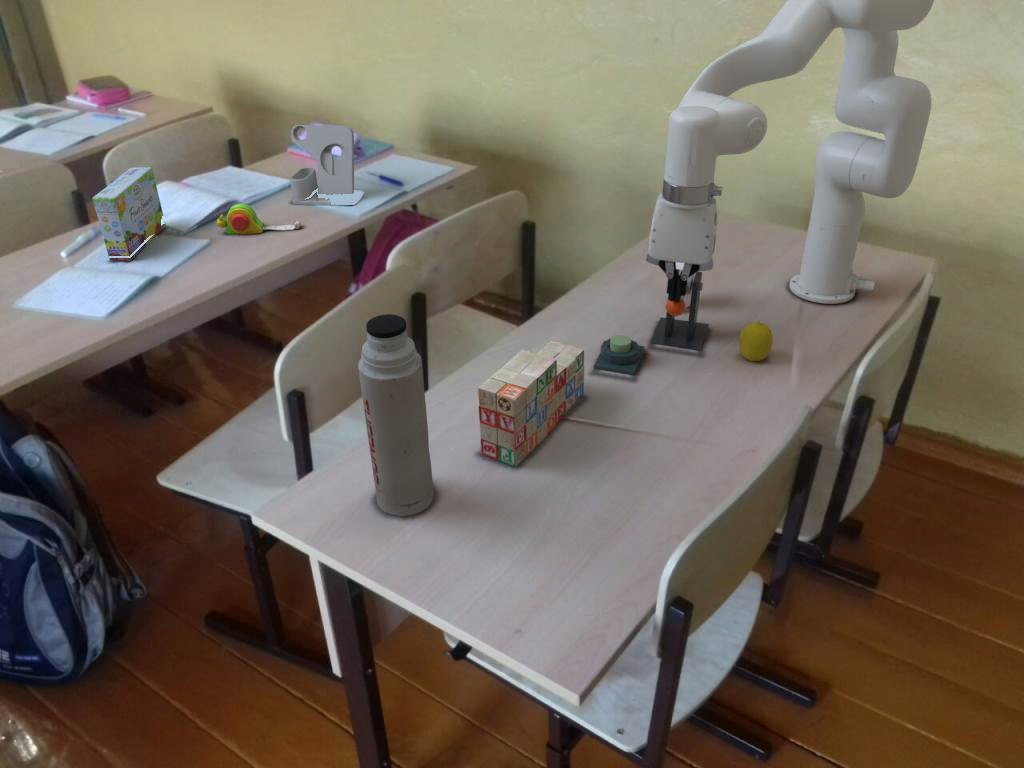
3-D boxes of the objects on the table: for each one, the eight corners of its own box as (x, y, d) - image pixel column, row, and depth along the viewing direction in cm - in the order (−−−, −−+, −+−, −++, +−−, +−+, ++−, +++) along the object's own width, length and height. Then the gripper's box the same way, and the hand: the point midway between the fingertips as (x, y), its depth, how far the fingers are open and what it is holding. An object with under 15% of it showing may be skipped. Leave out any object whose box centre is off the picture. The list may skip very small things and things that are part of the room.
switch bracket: (699, 355, 146) (707, 291, 140) (649, 348, 149) (655, 284, 142) (707, 329, 154) (715, 267, 147) (660, 322, 157) (665, 260, 150)
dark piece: (606, 348, 149) (606, 331, 147) (644, 354, 147) (645, 337, 145) (593, 373, 142) (594, 356, 140) (633, 380, 140) (634, 362, 138)
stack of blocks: (551, 387, 139) (551, 323, 132) (584, 397, 136) (586, 332, 129) (480, 454, 124) (477, 386, 117) (515, 468, 121) (514, 398, 114)
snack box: (133, 262, 185) (115, 197, 177) (109, 262, 185) (89, 197, 177) (168, 225, 203) (152, 165, 194) (145, 225, 203) (129, 165, 195)
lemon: (769, 356, 146) (777, 316, 141) (767, 372, 141) (774, 331, 137) (738, 351, 147) (744, 312, 143) (734, 367, 143) (740, 327, 139)
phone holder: (289, 203, 214) (277, 134, 204) (304, 190, 222) (293, 122, 212) (353, 206, 211) (344, 136, 201) (366, 192, 220) (357, 124, 210)
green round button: (612, 342, 145) (613, 333, 144) (632, 345, 144) (633, 336, 143) (607, 352, 142) (608, 343, 141) (628, 355, 141) (628, 346, 140)
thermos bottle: (375, 518, 112) (349, 340, 97) (378, 480, 119) (355, 308, 104) (433, 514, 113) (417, 336, 98) (433, 477, 119) (418, 305, 104)
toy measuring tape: (221, 227, 201) (215, 201, 197) (302, 222, 203) (297, 197, 199) (216, 237, 196) (210, 211, 192) (299, 233, 197) (294, 206, 194)
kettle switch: (682, 320, 137) (684, 302, 135) (663, 317, 137) (665, 300, 136) (694, 291, 147) (696, 274, 146) (676, 288, 148) (678, 272, 147)
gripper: (739, 188, 128) (724, 294, 137) (644, 178, 132) (636, 282, 142) (733, 204, 122) (718, 314, 131) (634, 194, 126) (626, 301, 136)
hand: (675, 297), depth 137 cm, fingers closed
